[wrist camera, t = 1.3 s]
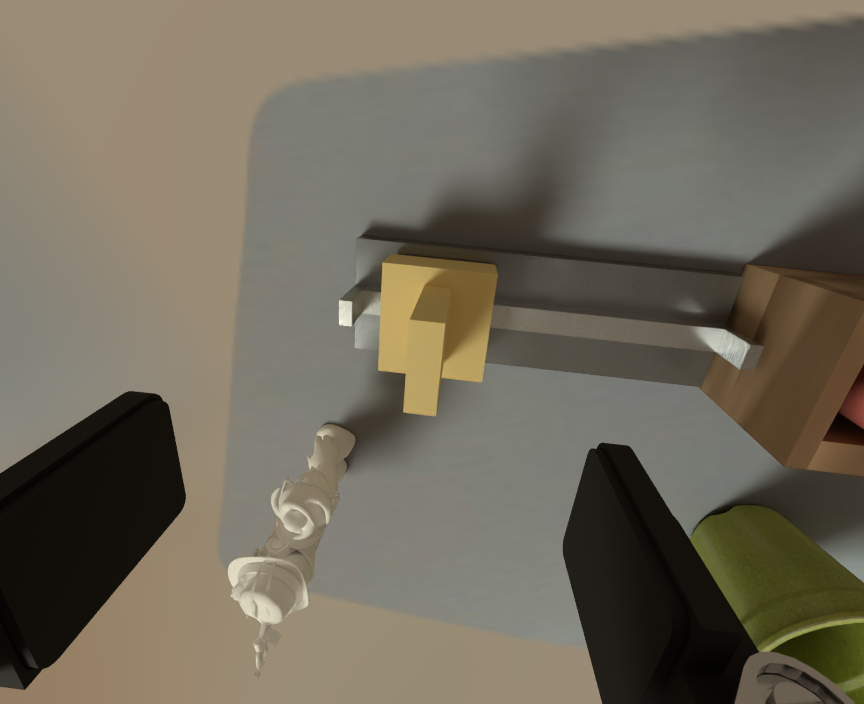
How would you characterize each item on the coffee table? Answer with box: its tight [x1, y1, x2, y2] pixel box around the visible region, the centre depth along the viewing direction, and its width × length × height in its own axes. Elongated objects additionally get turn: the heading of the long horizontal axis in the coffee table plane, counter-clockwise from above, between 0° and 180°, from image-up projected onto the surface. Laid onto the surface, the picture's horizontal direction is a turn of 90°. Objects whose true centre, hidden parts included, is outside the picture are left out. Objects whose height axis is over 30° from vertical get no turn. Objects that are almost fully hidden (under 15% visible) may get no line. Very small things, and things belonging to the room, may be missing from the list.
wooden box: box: [699, 264, 864, 476], centre depth 19 cm, size 6×7×7 cm
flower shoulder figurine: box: [228, 424, 356, 679], centre depth 22 cm, size 9×4×12 cm, turn 158°
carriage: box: [378, 254, 498, 416], centre depth 18 cm, size 5×5×8 cm
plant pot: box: [690, 505, 864, 704], centre depth 24 cm, size 9×9×9 cm
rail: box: [339, 236, 764, 387], centre depth 21 cm, size 19×6×4 cm, turn 85°
